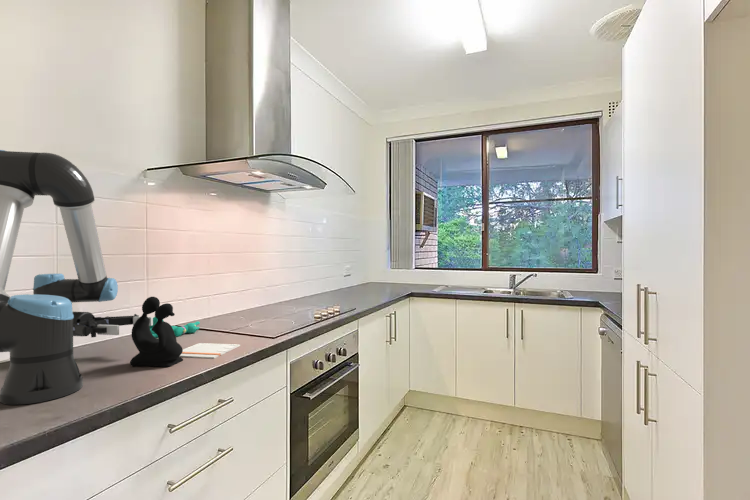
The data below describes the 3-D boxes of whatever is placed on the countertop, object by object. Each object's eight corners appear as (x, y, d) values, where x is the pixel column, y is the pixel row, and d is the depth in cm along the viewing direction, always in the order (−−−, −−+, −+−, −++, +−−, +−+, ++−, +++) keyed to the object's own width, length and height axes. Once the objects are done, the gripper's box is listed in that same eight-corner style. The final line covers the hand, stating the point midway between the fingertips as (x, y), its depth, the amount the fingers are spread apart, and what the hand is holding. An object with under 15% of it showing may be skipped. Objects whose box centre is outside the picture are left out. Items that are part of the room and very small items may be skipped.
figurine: (125, 367, 115) (124, 298, 115) (146, 358, 124) (145, 294, 124) (170, 368, 114) (169, 298, 113) (188, 359, 122) (187, 294, 122)
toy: (173, 329, 147) (207, 317, 166) (123, 322, 151) (162, 312, 171) (172, 347, 147) (206, 334, 167) (123, 339, 152) (161, 327, 171)
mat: (214, 358, 123) (214, 356, 123) (168, 356, 126) (168, 354, 126) (240, 345, 139) (240, 344, 139) (198, 344, 142) (198, 342, 142)
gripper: (108, 327, 137) (164, 329, 133) (35, 345, 112) (101, 348, 109) (108, 306, 137) (163, 306, 133) (35, 319, 112) (101, 320, 109)
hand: (136, 325), depth 121 cm, fingers open, 13 cm apart
